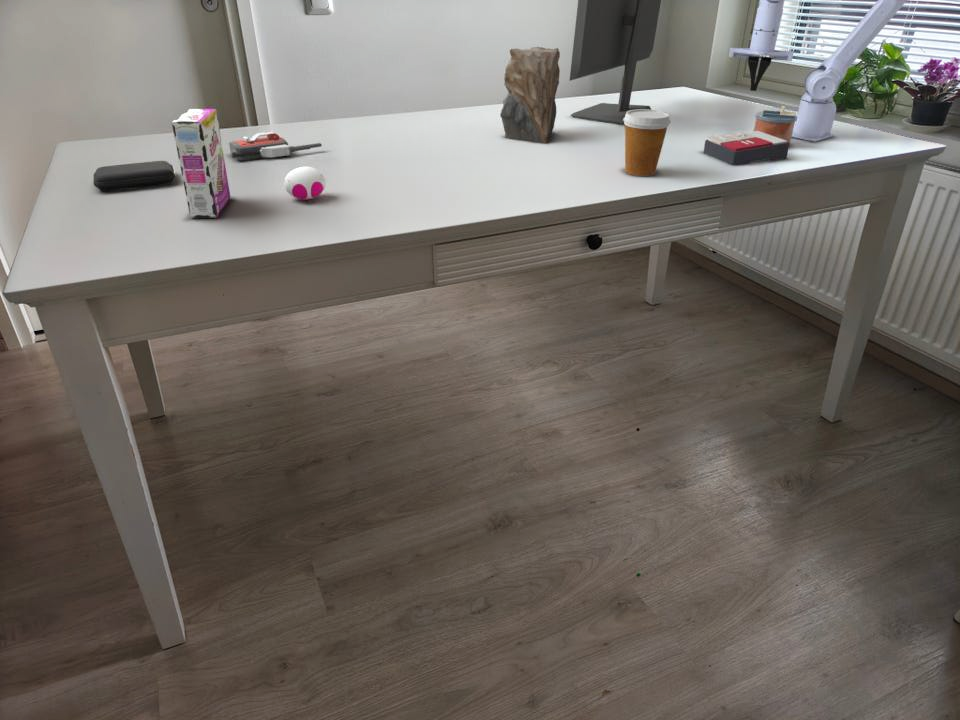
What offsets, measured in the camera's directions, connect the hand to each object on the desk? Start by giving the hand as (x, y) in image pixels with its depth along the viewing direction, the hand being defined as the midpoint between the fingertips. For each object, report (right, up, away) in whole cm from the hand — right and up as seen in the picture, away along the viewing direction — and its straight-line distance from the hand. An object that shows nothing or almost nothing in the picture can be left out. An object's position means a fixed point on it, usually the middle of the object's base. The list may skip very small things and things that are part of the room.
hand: (753, 90), depth 174 cm
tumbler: (+3, -15, -4) cm, 15 cm away
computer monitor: (-31, +1, +21) cm, 38 cm away
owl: (-55, -12, 0) cm, 57 cm away
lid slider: (+5, -9, -8) cm, 13 cm away
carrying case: (-137, -32, -35) cm, 144 cm away
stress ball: (-101, -37, -42) cm, 115 cm away
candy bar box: (-117, -40, -47) cm, 132 cm away
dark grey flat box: (-7, -21, -13) cm, 26 cm away
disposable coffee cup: (-34, -27, -25) cm, 50 cm away
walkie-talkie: (-115, -21, -16) cm, 117 cm away
